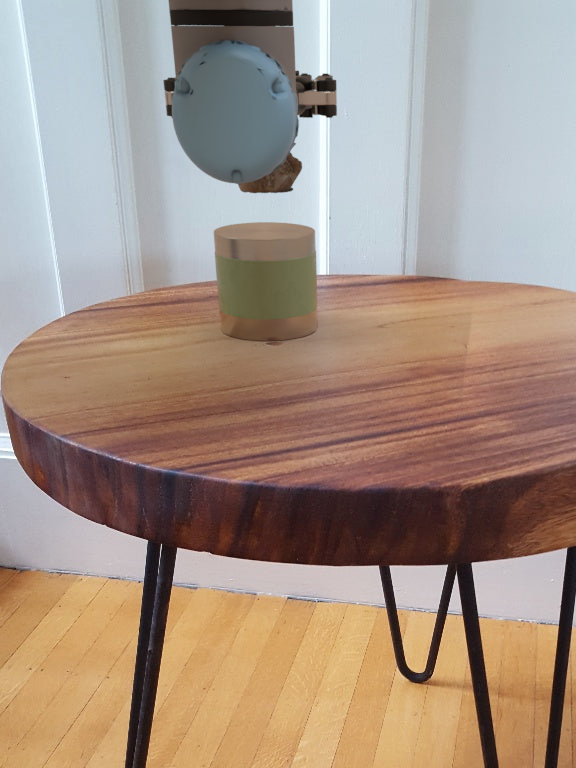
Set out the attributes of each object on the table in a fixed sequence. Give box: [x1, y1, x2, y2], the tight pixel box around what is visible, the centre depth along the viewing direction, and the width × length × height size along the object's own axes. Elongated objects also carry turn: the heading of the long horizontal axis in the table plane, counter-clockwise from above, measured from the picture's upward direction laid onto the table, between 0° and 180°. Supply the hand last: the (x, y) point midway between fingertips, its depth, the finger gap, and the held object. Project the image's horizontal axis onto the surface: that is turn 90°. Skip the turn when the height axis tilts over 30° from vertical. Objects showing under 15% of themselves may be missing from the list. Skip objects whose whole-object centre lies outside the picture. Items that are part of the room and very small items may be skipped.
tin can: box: [213, 221, 318, 342], centre depth 93 cm, size 10×10×9 cm
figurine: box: [237, 142, 303, 194], centre depth 85 cm, size 7×6×15 cm
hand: (260, 87), depth 89 cm, fingers closed on figurine, 6 cm apart
